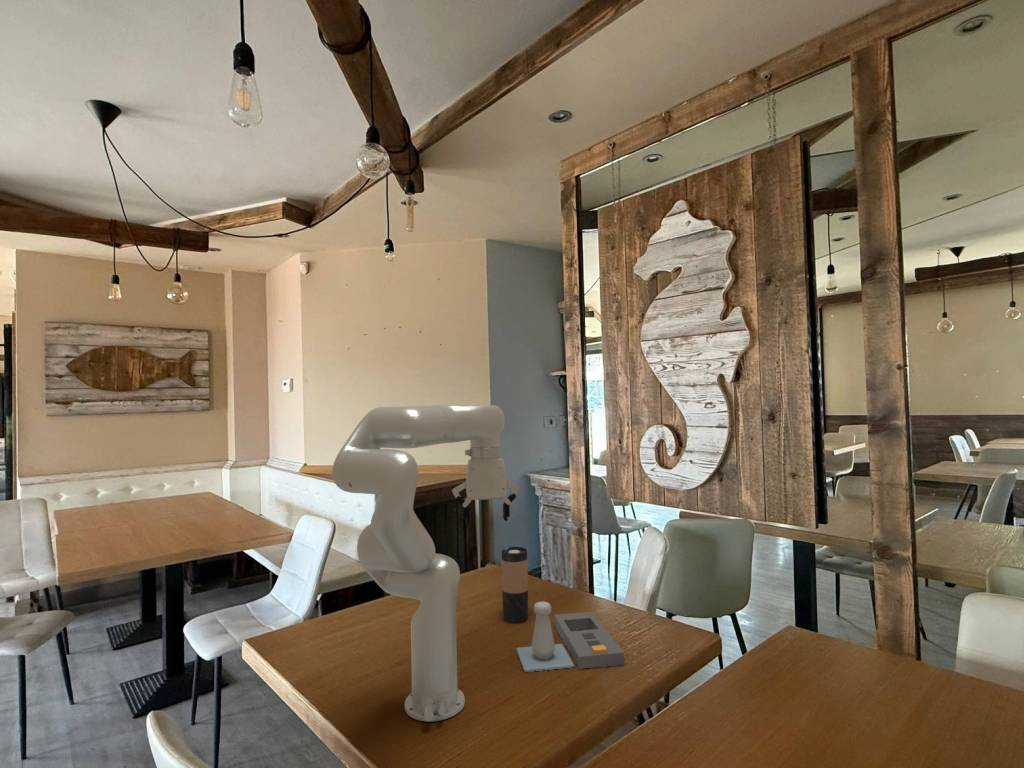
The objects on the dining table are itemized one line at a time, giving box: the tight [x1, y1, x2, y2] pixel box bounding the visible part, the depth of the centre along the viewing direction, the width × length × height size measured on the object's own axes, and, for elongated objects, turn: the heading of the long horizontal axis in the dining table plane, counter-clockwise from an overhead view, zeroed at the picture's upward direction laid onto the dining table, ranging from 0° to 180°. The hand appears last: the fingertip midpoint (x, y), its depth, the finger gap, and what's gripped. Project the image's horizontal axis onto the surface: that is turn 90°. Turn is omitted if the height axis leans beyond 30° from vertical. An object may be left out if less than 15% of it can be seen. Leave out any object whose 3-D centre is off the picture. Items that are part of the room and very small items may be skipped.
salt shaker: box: [531, 601, 556, 660], centre depth 137 cm, size 6×6×13 cm
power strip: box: [553, 611, 625, 670], centre depth 145 cm, size 26×11×4 cm, turn 9°
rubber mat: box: [515, 643, 575, 673], centre depth 137 cm, size 12×12×1 cm
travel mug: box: [501, 546, 529, 625], centre depth 163 cm, size 8×8×20 cm
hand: (486, 520), depth 142 cm, fingers open, 9 cm apart
